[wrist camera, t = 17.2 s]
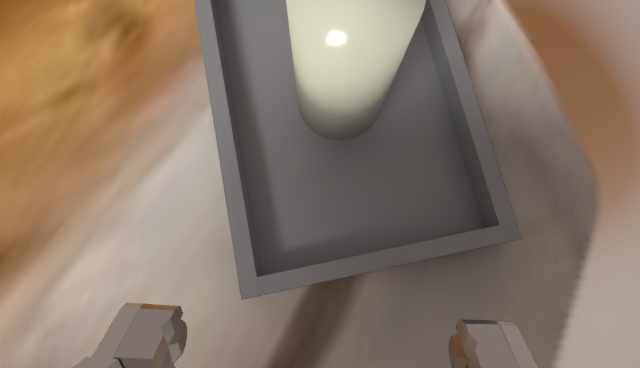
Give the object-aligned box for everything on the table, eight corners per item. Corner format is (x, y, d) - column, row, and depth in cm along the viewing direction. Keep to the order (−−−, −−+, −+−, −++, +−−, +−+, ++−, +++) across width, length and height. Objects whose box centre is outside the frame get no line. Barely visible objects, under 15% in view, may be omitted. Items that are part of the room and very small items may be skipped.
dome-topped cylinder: (388, 131, 23) (442, 38, 13) (306, 147, 23) (299, 64, 13) (369, 57, 24) (406, -80, 14) (291, 71, 24) (273, -59, 14)
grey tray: (499, 240, 22) (521, 238, 20) (250, 294, 21) (241, 299, 19) (410, -47, 26) (420, -78, 24) (200, -11, 26) (188, -39, 23)
